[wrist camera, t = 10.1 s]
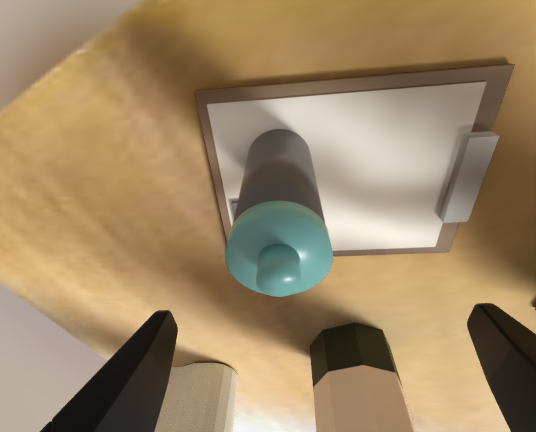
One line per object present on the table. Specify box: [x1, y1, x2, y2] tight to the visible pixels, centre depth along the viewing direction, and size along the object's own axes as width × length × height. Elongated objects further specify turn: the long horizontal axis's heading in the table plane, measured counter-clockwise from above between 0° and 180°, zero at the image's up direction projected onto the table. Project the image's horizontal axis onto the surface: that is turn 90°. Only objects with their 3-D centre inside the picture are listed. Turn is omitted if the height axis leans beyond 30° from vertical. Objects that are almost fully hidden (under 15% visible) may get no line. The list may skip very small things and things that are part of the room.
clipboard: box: [194, 64, 515, 256], centre depth 20 cm, size 13×17×1 cm
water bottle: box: [225, 129, 333, 297], centre depth 15 cm, size 4×4×10 cm
